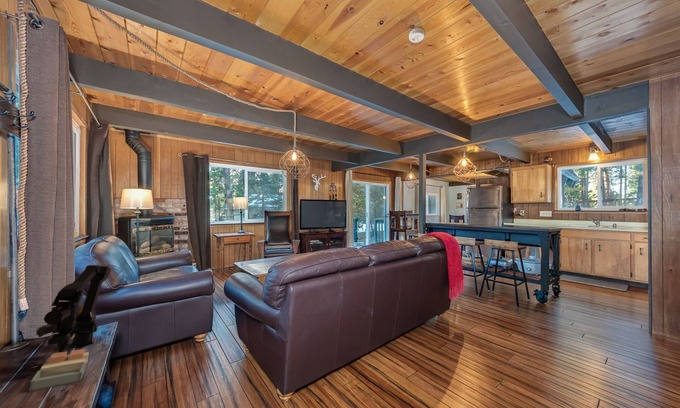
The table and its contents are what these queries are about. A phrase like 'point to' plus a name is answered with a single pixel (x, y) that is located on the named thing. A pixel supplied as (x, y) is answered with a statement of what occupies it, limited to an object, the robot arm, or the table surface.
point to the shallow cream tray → (63, 366)
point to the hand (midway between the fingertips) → (61, 351)
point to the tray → (55, 379)
